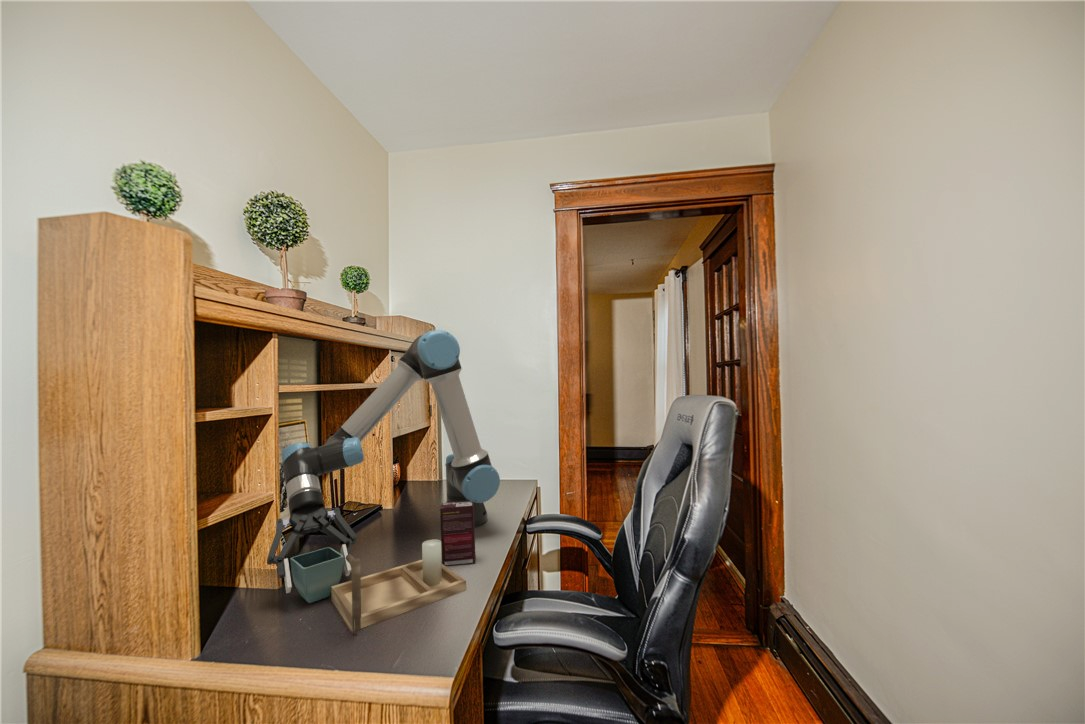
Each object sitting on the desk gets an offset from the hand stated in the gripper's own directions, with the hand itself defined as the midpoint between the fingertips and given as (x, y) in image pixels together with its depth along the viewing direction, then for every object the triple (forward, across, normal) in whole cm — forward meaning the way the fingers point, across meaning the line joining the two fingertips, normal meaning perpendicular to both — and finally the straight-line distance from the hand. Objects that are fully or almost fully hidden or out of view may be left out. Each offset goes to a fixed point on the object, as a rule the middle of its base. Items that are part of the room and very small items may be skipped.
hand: (319, 581), depth 99 cm
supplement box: (+6, -32, 0) cm, 33 cm away
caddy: (+10, -14, +4) cm, 18 cm away
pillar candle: (+10, -22, +5) cm, 25 cm away
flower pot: (+1, 0, -5) cm, 5 cm away
